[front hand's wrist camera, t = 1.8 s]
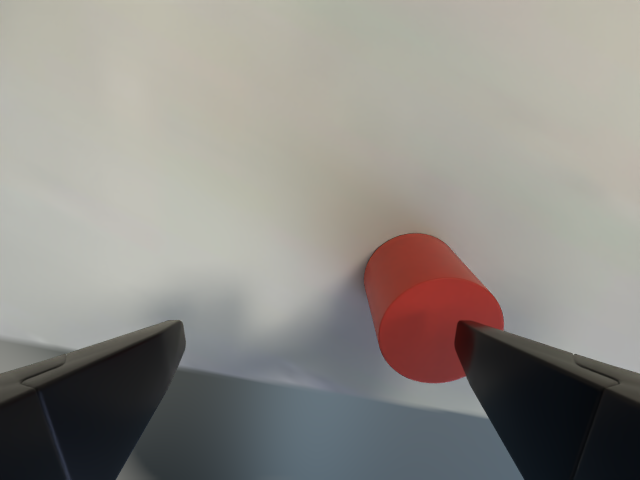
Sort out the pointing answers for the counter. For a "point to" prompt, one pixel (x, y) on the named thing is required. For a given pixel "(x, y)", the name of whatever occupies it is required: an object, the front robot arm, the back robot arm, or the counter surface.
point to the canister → (424, 305)
